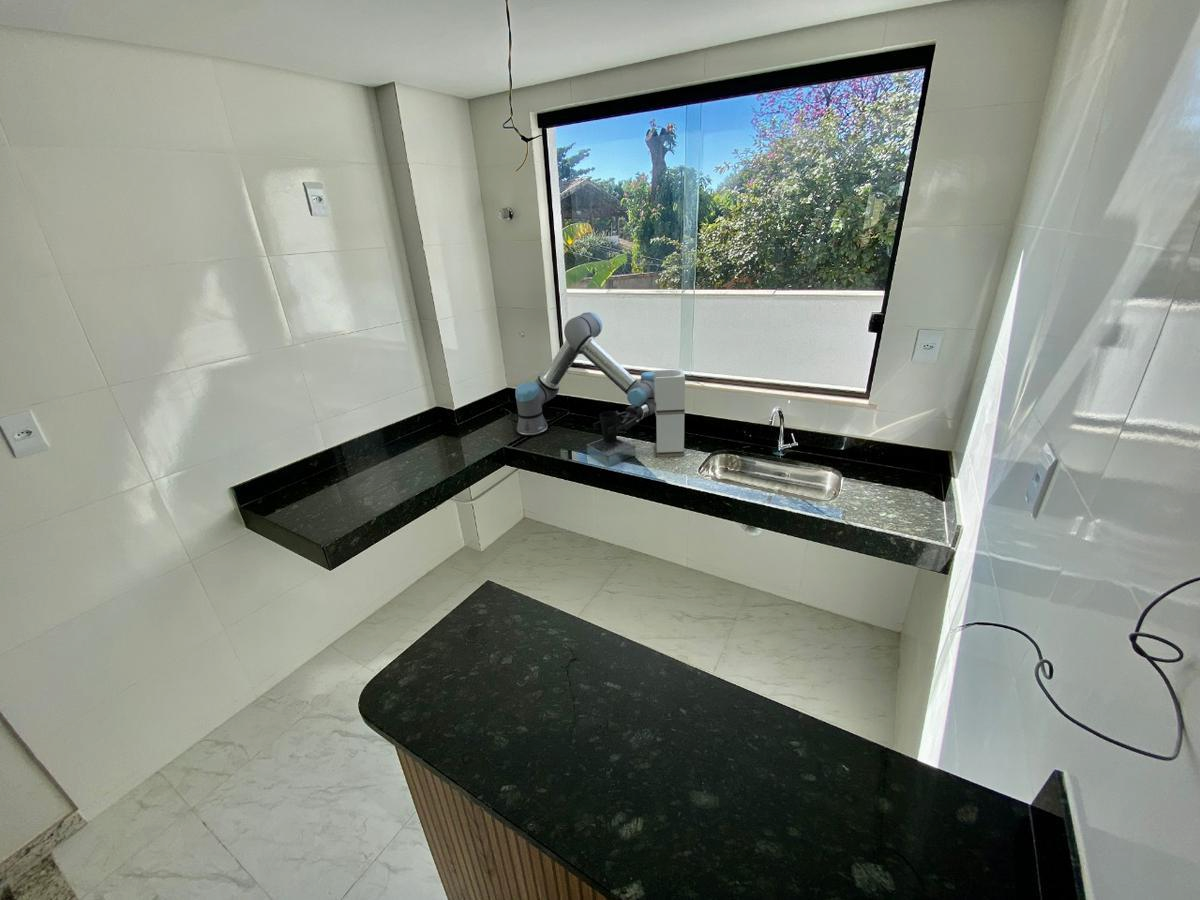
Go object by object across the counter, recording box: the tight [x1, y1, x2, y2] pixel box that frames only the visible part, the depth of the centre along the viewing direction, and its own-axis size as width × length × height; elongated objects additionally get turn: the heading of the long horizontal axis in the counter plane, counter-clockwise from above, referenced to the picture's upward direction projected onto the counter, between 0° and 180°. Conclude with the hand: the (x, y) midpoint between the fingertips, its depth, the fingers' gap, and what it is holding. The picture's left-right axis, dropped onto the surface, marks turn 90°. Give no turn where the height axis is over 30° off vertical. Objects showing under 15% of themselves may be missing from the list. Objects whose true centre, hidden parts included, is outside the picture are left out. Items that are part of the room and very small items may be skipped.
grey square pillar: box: [653, 368, 686, 458], centre depth 204 cm, size 11×11×35 cm
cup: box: [598, 410, 618, 443], centre depth 206 cm, size 8×8×12 cm
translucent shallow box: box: [586, 437, 636, 467], centre depth 210 cm, size 16×14×4 cm
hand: (601, 429), depth 202 cm, fingers closed on cup, 8 cm apart
